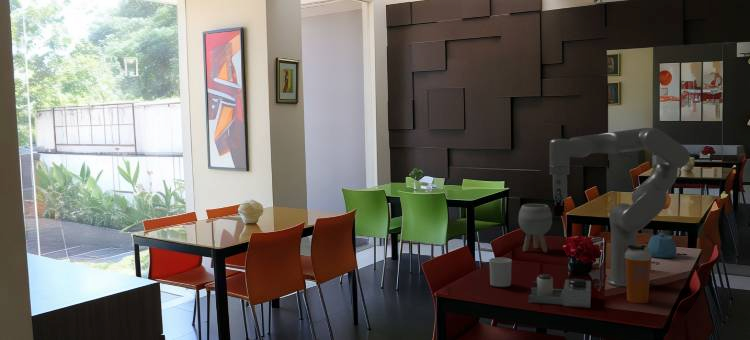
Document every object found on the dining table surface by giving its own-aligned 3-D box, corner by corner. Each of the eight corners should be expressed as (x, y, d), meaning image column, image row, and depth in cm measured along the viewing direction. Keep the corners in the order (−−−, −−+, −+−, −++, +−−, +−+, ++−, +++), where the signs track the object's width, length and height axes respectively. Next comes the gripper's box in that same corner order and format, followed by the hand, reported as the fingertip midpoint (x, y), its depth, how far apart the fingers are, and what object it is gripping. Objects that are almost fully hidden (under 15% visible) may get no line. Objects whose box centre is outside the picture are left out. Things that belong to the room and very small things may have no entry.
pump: (553, 297, 243) (553, 274, 242) (552, 301, 237) (552, 278, 237) (533, 296, 245) (533, 273, 244) (532, 300, 240) (532, 276, 239)
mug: (507, 289, 255) (507, 263, 254) (485, 286, 260) (485, 261, 259) (516, 282, 264) (516, 257, 263) (496, 280, 269) (495, 255, 268)
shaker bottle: (619, 297, 240) (620, 243, 238) (643, 296, 241) (643, 242, 239) (631, 304, 231) (632, 249, 230) (655, 303, 232) (656, 247, 230)
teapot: (645, 236, 297) (648, 229, 313) (645, 259, 298) (647, 251, 314) (676, 238, 291) (677, 231, 307) (676, 262, 292) (676, 253, 308)
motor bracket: (590, 294, 245) (591, 274, 244) (590, 307, 229) (590, 286, 228) (532, 291, 252) (532, 271, 251) (528, 303, 236) (528, 282, 235)
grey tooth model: (556, 253, 314) (555, 207, 312) (522, 254, 315) (522, 208, 313) (547, 246, 330) (547, 202, 328) (515, 247, 331) (515, 203, 329)
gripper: (568, 172, 247) (568, 217, 248) (570, 168, 263) (570, 210, 265) (547, 172, 249) (548, 217, 251) (551, 168, 266) (551, 210, 267)
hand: (559, 213), depth 258 cm, fingers open, 9 cm apart
